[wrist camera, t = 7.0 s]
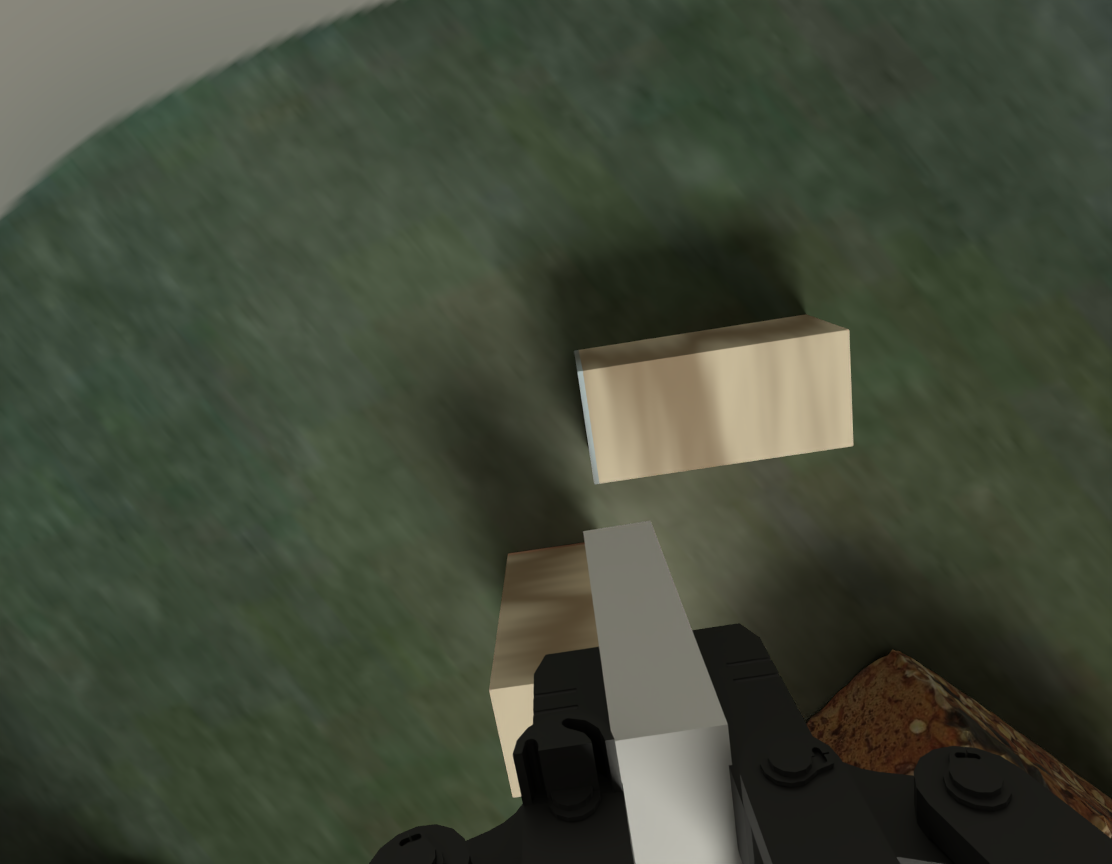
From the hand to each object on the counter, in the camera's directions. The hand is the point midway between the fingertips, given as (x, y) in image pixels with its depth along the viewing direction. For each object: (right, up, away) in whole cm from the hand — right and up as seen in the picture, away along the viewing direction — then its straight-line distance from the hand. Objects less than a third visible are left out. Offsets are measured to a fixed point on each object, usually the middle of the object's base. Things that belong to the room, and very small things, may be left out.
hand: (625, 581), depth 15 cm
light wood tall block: (-1, -4, +18) cm, 18 cm away
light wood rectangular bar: (0, +4, +13) cm, 14 cm away
